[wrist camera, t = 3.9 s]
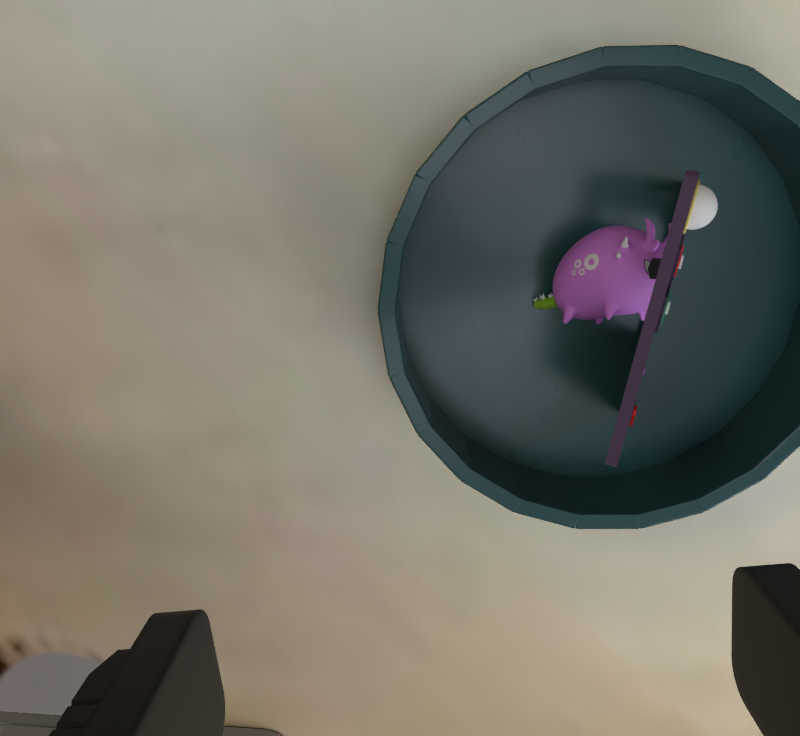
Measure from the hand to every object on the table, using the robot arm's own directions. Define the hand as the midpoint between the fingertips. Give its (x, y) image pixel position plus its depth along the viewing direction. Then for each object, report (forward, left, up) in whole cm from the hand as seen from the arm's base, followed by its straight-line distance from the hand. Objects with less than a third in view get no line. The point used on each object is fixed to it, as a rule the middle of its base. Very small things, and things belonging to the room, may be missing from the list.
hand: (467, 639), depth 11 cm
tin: (+6, +3, -18) cm, 19 cm away
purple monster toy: (+6, +3, -18) cm, 19 cm away
